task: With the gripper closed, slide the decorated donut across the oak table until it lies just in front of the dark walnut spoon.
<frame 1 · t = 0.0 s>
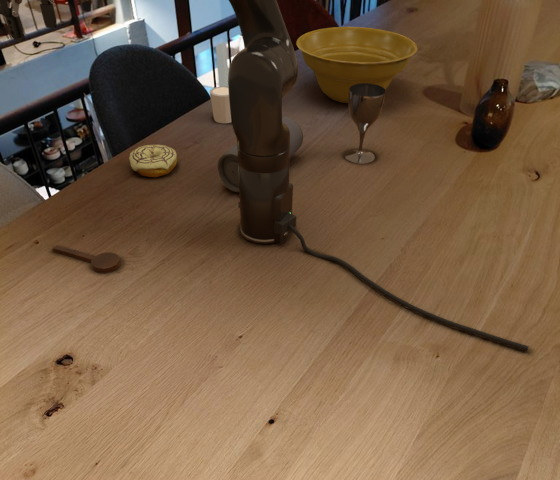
hand: (36, 33, 102), 29 cm above the table, tool pointing down, fingers open, 8 cm apart
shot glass: (224, 119, 149), on the table
planter bowl: (351, 95, 162), on the table
bluetooth speaker: (241, 153, 128), point 3 cm above the table
spoon: (86, 258, 104), on the table
wine glass: (359, 157, 135), on the table
decorated donut: (154, 168, 129), on the table
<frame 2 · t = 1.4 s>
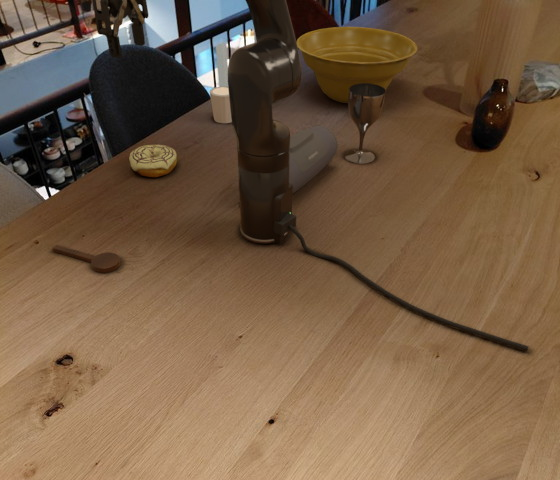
hand: (128, 50, 115), 23 cm above the table, tool pointing down, fingers open, 8 cm apart
bluetooth speaker: (297, 137, 118), point 10 cm above the table
everything else where it was.
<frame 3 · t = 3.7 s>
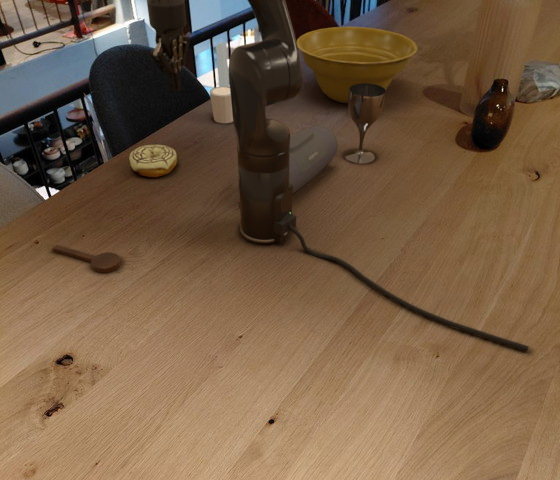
hand: (175, 89, 127), 13 cm above the table, tool pointing down, fingers closed
nothing on the table moved.
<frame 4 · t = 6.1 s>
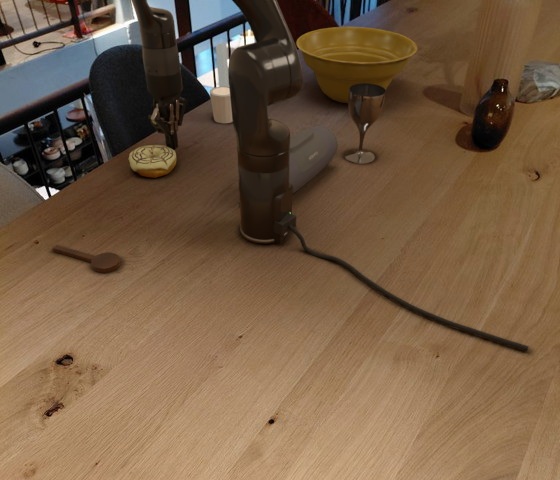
hand: (172, 148, 132), 2 cm above the table, tool pointing down, fingers closed
decorated donut: (154, 169, 129), on the table, touching gripper
everything else where it was.
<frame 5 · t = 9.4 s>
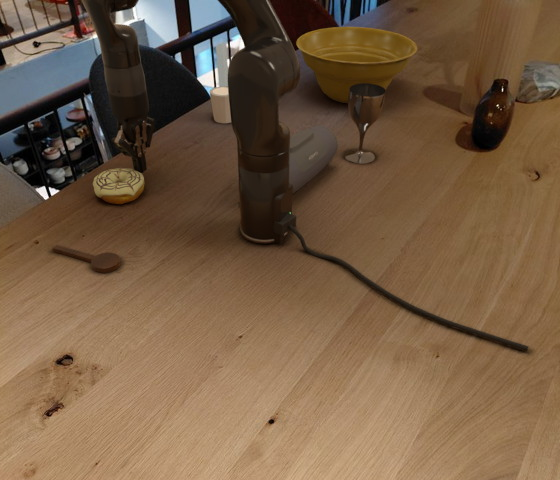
hand: (141, 170, 124), 2 cm above the table, tool pointing down, fingers closed
decorated donut: (121, 194, 121), on the table, touching gripper
everything else where it was.
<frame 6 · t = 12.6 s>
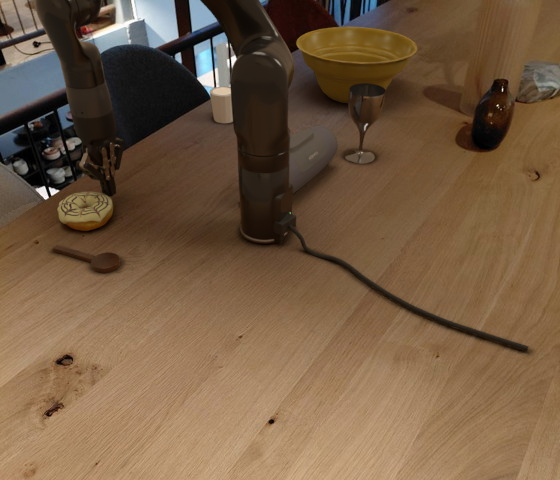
hand: (110, 194, 117), 2 cm above the table, tool pointing down, fingers closed
decorated donut: (88, 219, 114), on the table, touching gripper
everything else where it was.
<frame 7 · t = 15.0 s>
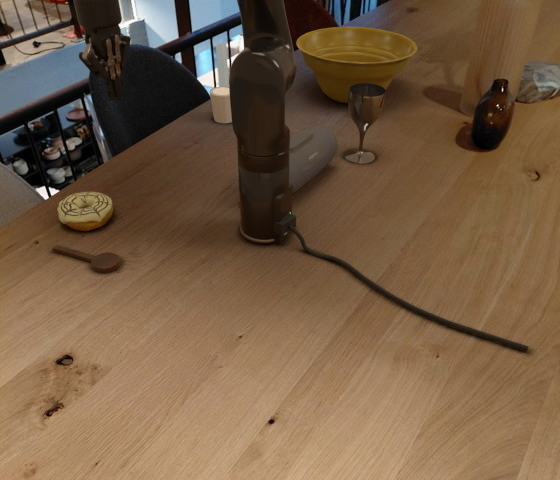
hand: (115, 98, 109), 19 cm above the table, tool pointing down, fingers closed
decorated donut: (88, 219, 114), on the table
everything else where it was.
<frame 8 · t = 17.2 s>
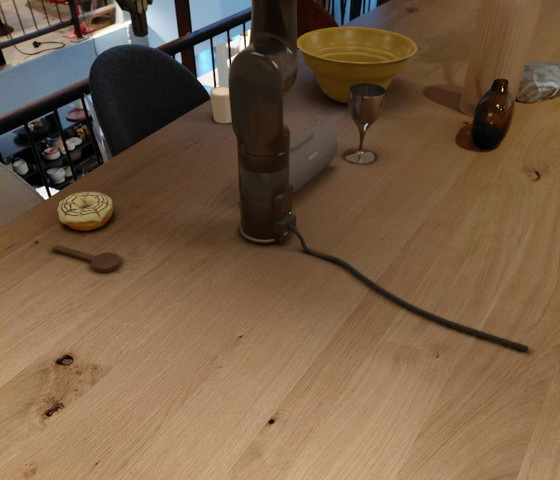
hand: (141, 35, 103), 29 cm above the table, tool pointing down, fingers closed
nothing on the table moved.
at the end: decorated donut inside the target area on the table beside the spoon (1.2 cm from its centre), on the table; decorated donut tilted 0° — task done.
